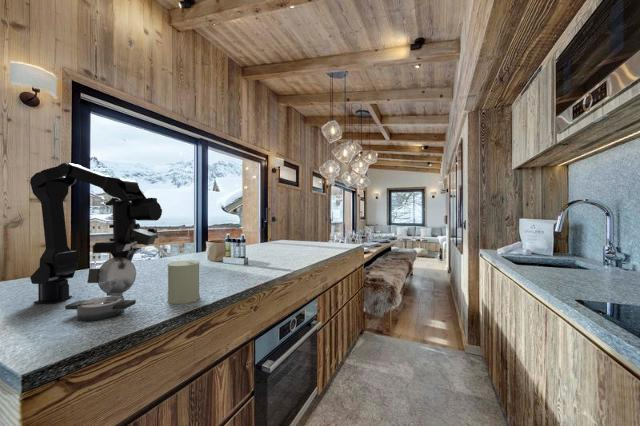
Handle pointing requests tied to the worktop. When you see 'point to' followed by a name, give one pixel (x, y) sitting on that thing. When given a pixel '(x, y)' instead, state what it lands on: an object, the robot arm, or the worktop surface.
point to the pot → (100, 308)
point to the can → (183, 282)
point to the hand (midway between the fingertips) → (125, 272)
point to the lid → (114, 276)
